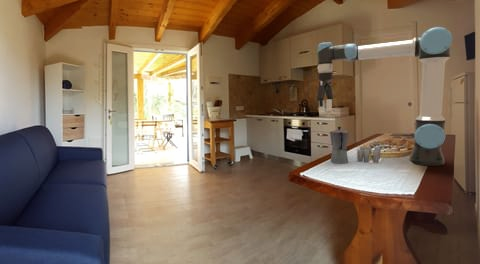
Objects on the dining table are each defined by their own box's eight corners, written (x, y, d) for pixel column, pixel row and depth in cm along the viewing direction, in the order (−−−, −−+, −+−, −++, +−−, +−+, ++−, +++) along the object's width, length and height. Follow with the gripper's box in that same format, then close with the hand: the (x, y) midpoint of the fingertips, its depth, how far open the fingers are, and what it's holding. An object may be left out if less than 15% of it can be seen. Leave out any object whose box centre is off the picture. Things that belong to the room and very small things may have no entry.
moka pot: (345, 160, 164) (345, 124, 161) (353, 167, 149) (353, 128, 146) (327, 160, 165) (327, 125, 162) (333, 167, 150) (333, 129, 147)
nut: (372, 158, 161) (372, 153, 160) (373, 160, 156) (373, 155, 156) (363, 158, 162) (363, 153, 162) (364, 160, 158) (364, 155, 157)
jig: (381, 159, 162) (381, 147, 161) (379, 165, 151) (379, 151, 150) (360, 158, 167) (360, 146, 166) (356, 163, 156) (357, 150, 156)
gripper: (325, 73, 170) (325, 110, 173) (310, 72, 150) (311, 113, 153) (338, 72, 166) (338, 110, 169) (325, 71, 146) (325, 113, 148)
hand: (325, 111), depth 161 cm, fingers open, 13 cm apart
